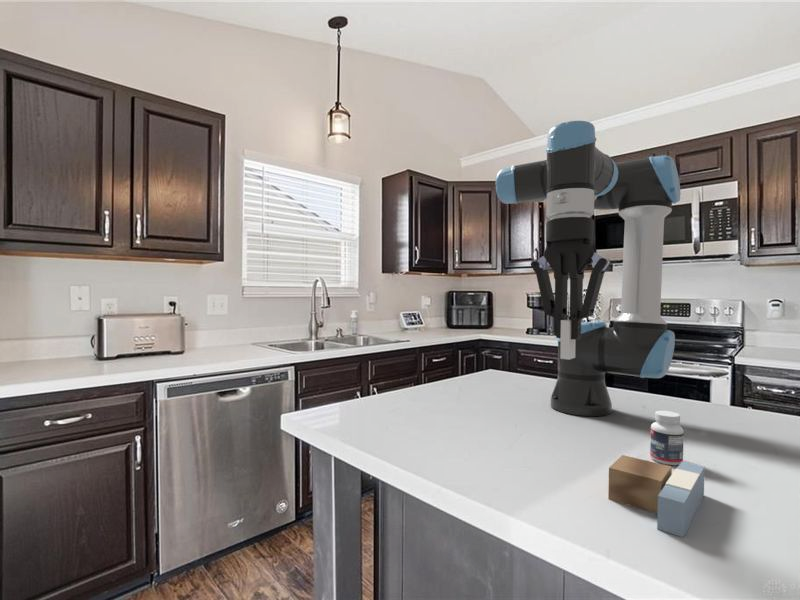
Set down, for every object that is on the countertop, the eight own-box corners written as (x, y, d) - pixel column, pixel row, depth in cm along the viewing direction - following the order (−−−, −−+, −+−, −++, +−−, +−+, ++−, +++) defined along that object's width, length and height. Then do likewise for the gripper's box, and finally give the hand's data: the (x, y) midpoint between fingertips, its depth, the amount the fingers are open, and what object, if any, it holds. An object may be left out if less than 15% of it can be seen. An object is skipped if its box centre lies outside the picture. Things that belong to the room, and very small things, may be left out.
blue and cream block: (657, 528, 59) (657, 494, 59) (681, 489, 71) (681, 459, 70) (683, 537, 57) (684, 501, 57) (703, 494, 69) (704, 465, 68)
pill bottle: (644, 455, 85) (644, 409, 85) (669, 454, 85) (670, 409, 85) (662, 466, 80) (663, 417, 79) (689, 465, 80) (690, 417, 80)
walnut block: (608, 500, 67) (608, 467, 67) (621, 485, 72) (622, 454, 72) (660, 516, 63) (661, 481, 62) (671, 498, 68) (671, 466, 68)
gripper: (523, 219, 76) (521, 356, 76) (602, 211, 67) (600, 365, 68) (542, 224, 81) (540, 351, 82) (618, 217, 72) (615, 359, 73)
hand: (567, 358), depth 75 cm, fingers closed
